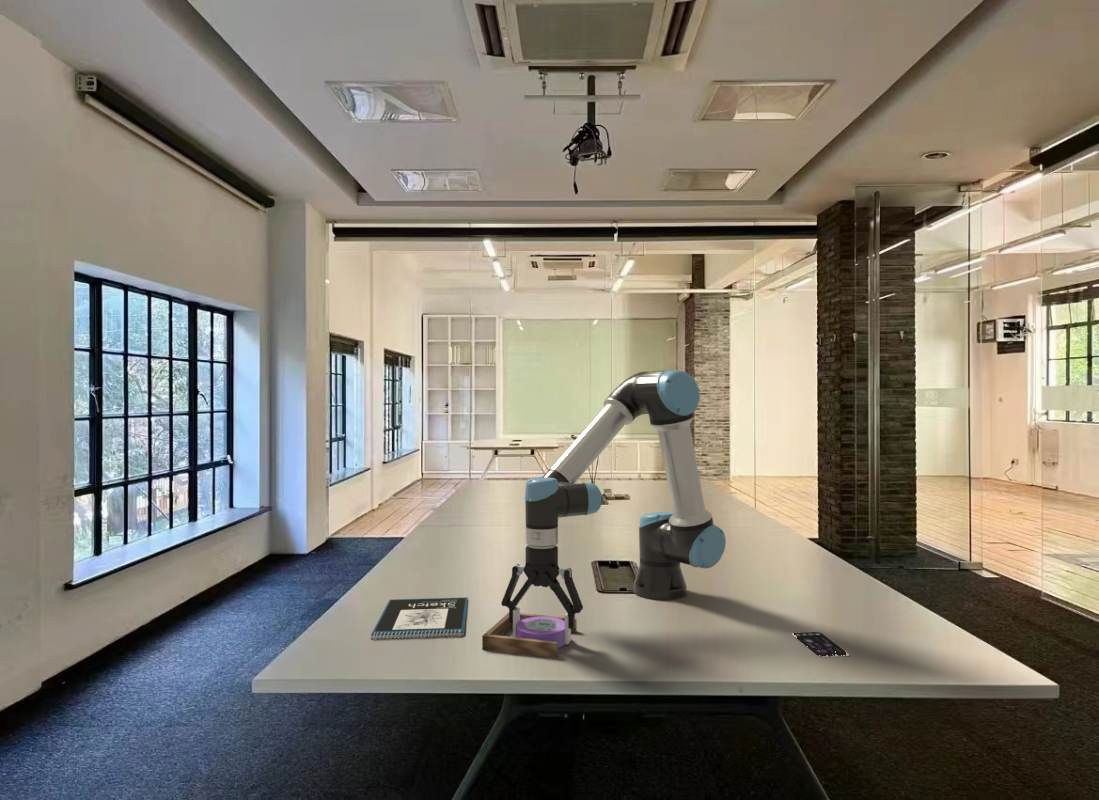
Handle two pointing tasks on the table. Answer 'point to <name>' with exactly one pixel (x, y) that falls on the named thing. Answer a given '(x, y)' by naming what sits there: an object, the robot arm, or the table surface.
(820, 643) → the smartphone
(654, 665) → the table surface
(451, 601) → the sketchbook
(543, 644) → the wooden u-shaped frame
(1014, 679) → the table surface
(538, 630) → the masking tape
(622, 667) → the table surface
